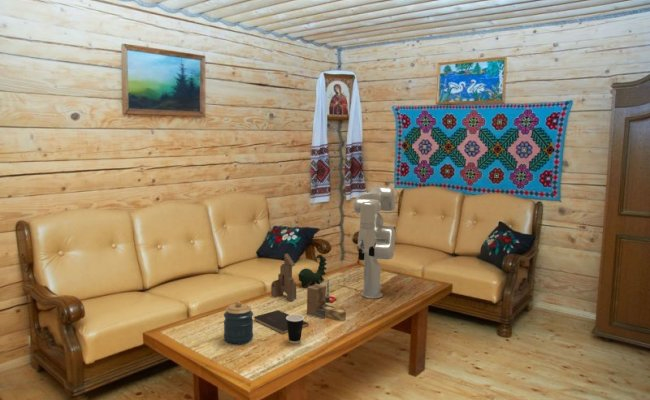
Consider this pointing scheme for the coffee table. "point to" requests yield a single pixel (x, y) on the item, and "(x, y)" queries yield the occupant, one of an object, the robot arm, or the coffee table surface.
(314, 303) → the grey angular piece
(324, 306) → the bed rail
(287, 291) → the wooden toy
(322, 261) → the toy figurine
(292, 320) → the dixie cup
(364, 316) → the coffee table surface
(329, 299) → the tow hook
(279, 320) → the hardcover book
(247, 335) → the canister
